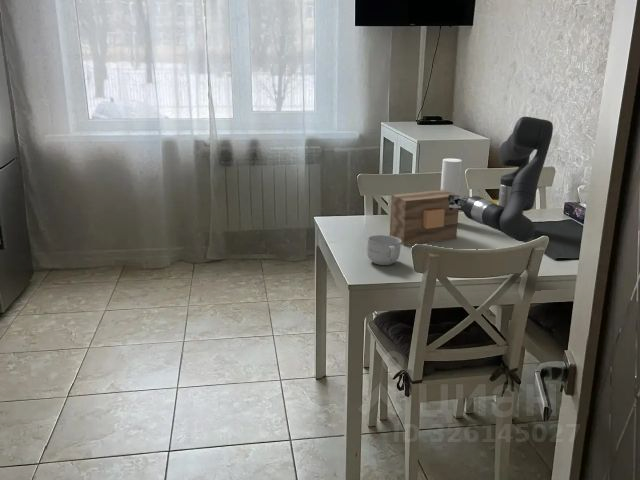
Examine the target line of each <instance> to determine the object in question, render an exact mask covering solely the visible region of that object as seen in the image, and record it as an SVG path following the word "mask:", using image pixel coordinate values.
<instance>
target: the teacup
mask: <svg viewBox="0 0 640 480" xmlns="http://www.w3.org/2000/svg"><path fill="white" fill-rule="evenodd" d="M401 245H402V244H401V240H400V239H399V238H396V237H393V236H390V235H385V234H373V235H369V236H368V237H367V245H366V246H367V247H366V255H367V258H368V259H369V260H371V262H372V263H374V264H375V265H380V266H391V265H393V264H394V263H395V262H397V261H398V260H399V258H400V253H401Z"/></svg>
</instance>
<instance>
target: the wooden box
mask: <svg viewBox="0 0 640 480" xmlns="http://www.w3.org/2000/svg"><path fill="white" fill-rule="evenodd" d="M452 194H453V195H456V194H454V193H451V192H448V191H446V190H441V189H440V190H428V191H427V190H426V191H418V192H406V193H396V194H391V198H390V199H391V200H390V220H389V236H393V237H396V238H399V239H400V240H401V245H402V246H403V245H404V246H409V245H408V244H411V245H417V244H416V243H419V244H424V243H423V242H427V243H433V241H434V242H441V241H449V240H455V239H456V240H457V234H458V222H459V211H460V210H458V209H457V208H454V209H453V210H449V202H450V201H448V196H449V195H452ZM456 196H458V197H459V196H460V194H459V195H456ZM434 208H441V209H443V210H445V213H444V227H436V228H428V229H426V228H424V227H422V223H423V210H424V209H434ZM411 245H410V246H411Z"/></svg>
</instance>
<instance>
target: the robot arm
mask: <svg viewBox="0 0 640 480" xmlns="http://www.w3.org/2000/svg"><path fill="white" fill-rule="evenodd" d="M553 132H554V125H553V122H551V120H547V119H541V118H536V117H532V116H521V117H520V118H518V120H517V121H516V123H515V125H514V128H513V130H512V133H511V134H510V135H509V136H508V138H507V140H505V141H503V142H502V144H501V146H500V148H499V151H498V160H499V163H500V164H501V165H502V166H504V167H514V168H516V170H514V171H512V172H510V173H507V174H503V175H502V176H501V177H500V184H499V195H498V200H499V202H498V205H497V204H495V203H493V202H491V201H489V200H486V199H487V198H484V197H481V196H479V195H478V196H477V195H473V196H468V195H465V196H461V195H459V197H458V196H456V195H453V194H452V195H449V196H448V201H450V202H449V210H453V209H454V208H457V209H458V210H459V211H461V212H463V214H464V216H465V217H466V218H467V219H470V220H472V221H474V222H476V223H478V224H481V225H484V226H487V227H489V228H491V229H494V230H496V231H499V232H501V233H503V234H504V235H506V236H508V237H509V238H511V239H513V240H515V241H517V242H527V241H529V240H530V239H532V238H533V237H534V235H535V233H536V226H535V224H534V222H533V221H532V220H531V219H530V218H528V217H527V216H526V215H524V212H526V211H530V210H531V209H532V208H533V207H534V206H535V202H536V195H537V189H538V185H539V181H540V177H541V173H542V170H543V167H544V166H545V162H546V158H547V155H548V153H549V149H550V148H549V147H550V144H551V140H552V138H553ZM534 150H535V151H536V153H535V155H534V156H533V157H532V159H531V160H530V158H531V154H532V153H533V152H534Z"/></svg>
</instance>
